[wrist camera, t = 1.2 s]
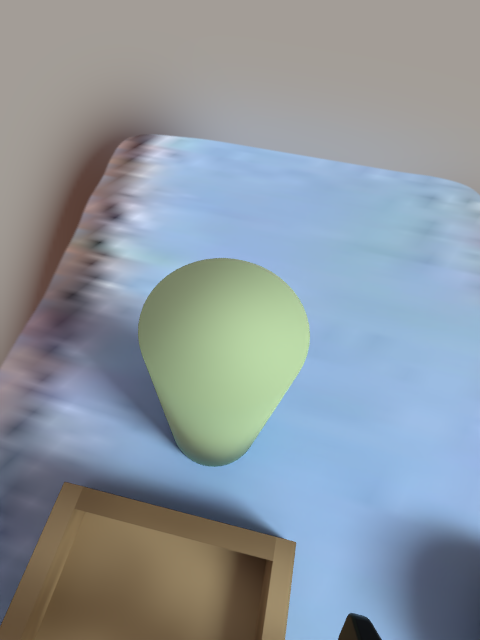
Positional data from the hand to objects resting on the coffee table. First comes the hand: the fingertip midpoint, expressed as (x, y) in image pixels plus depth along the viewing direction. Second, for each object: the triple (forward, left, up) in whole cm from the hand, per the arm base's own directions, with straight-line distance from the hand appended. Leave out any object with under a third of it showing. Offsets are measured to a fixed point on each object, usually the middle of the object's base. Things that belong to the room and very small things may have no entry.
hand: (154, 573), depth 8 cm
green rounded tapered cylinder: (+7, 0, -13) cm, 15 cm away
